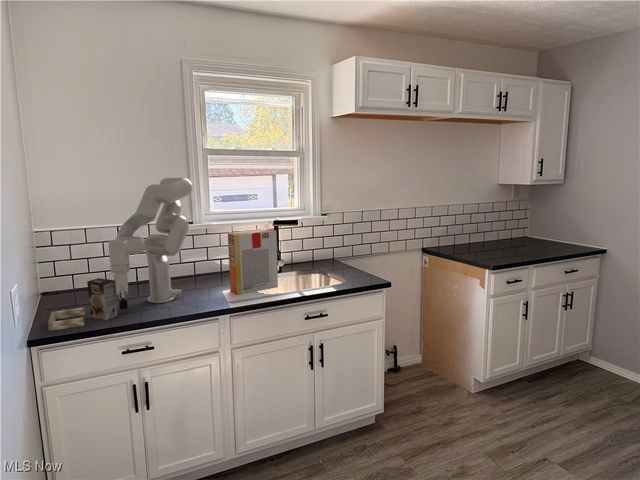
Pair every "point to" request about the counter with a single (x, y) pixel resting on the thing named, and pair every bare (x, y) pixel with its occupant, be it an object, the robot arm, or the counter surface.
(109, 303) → the coffee box
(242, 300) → the counter surface
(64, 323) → the dock
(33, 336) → the counter surface
